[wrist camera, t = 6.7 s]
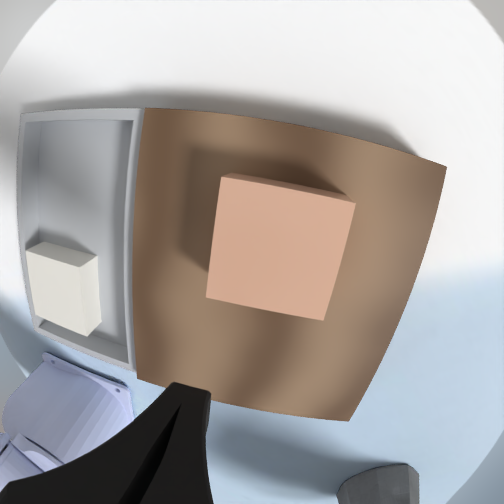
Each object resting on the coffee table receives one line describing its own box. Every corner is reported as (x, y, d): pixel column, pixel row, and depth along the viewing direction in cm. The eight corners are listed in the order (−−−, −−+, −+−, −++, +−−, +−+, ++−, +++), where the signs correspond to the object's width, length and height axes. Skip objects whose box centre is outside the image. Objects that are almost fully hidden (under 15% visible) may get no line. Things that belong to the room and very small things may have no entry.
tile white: (86, 336, 17) (101, 321, 19) (79, 267, 16) (97, 255, 18) (35, 314, 18) (51, 302, 20) (25, 250, 16) (44, 241, 18)
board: (151, 356, 20) (137, 378, 18) (165, 112, 15) (145, 107, 12) (345, 395, 19) (348, 421, 17) (425, 163, 14) (447, 166, 11)
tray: (48, 318, 21) (34, 331, 19) (41, 113, 15) (21, 113, 13) (148, 355, 20) (137, 373, 18) (162, 112, 15) (146, 108, 13)
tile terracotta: (216, 278, 15) (205, 297, 13) (231, 172, 13) (221, 176, 11) (320, 298, 14) (323, 320, 12) (346, 195, 13) (356, 203, 11)
